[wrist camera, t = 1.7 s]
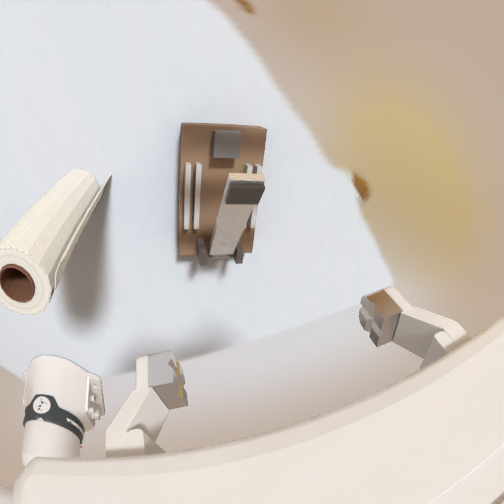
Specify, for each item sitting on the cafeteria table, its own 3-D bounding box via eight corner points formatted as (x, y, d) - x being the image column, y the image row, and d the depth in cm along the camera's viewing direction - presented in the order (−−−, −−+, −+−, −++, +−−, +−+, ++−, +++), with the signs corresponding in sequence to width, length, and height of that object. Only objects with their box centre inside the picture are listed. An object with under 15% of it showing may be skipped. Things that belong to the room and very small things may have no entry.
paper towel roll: (58, 208, 34) (-9, 309, 16) (62, 165, 32) (-21, 242, 14) (105, 216, 37) (67, 326, 19) (112, 173, 35) (64, 258, 17)
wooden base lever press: (246, 242, 45) (259, 265, 40) (178, 244, 42) (181, 269, 37) (259, 126, 37) (276, 133, 31) (181, 122, 34) (184, 128, 29)
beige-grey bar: (230, 250, 39) (232, 262, 39) (207, 251, 39) (208, 263, 38) (262, 172, 26) (266, 186, 25) (229, 171, 25) (231, 185, 24)
